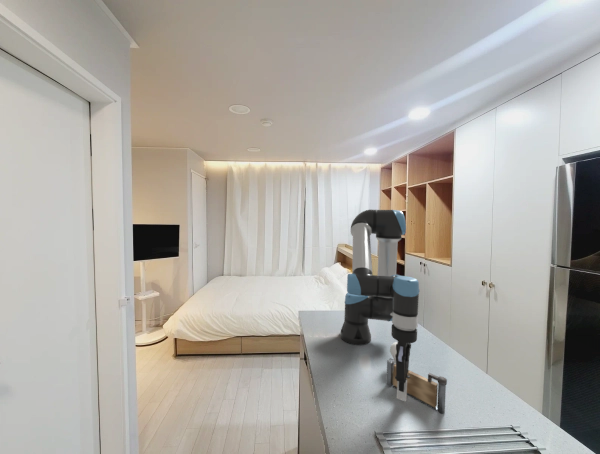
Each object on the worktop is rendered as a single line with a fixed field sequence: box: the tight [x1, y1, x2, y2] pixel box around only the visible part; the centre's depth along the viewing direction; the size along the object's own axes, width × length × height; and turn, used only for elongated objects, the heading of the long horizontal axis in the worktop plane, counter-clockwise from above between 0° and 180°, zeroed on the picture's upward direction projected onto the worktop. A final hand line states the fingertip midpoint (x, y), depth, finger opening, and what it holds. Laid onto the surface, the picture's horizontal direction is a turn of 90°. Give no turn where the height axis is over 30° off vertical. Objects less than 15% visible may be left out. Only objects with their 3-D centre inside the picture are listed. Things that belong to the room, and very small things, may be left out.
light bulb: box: [389, 341, 398, 365], centre depth 99 cm, size 7×7×11 cm
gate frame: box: [385, 357, 447, 415], centre depth 84 cm, size 19×3×9 cm, turn 43°
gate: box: [392, 363, 448, 407], centre depth 83 cm, size 17×2×10 cm, turn 42°
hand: (401, 398), depth 80 cm, fingers closed
